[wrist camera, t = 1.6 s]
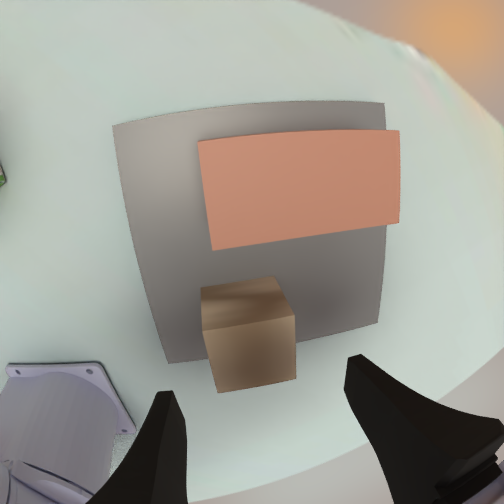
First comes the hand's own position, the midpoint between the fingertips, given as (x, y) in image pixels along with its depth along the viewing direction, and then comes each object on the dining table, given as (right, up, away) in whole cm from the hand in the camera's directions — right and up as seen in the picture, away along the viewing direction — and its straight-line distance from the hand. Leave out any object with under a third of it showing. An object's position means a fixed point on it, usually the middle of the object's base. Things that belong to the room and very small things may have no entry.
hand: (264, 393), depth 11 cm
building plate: (0, +7, +5) cm, 9 cm away
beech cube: (-1, +2, +6) cm, 6 cm away
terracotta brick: (+1, +10, +3) cm, 10 cm away
